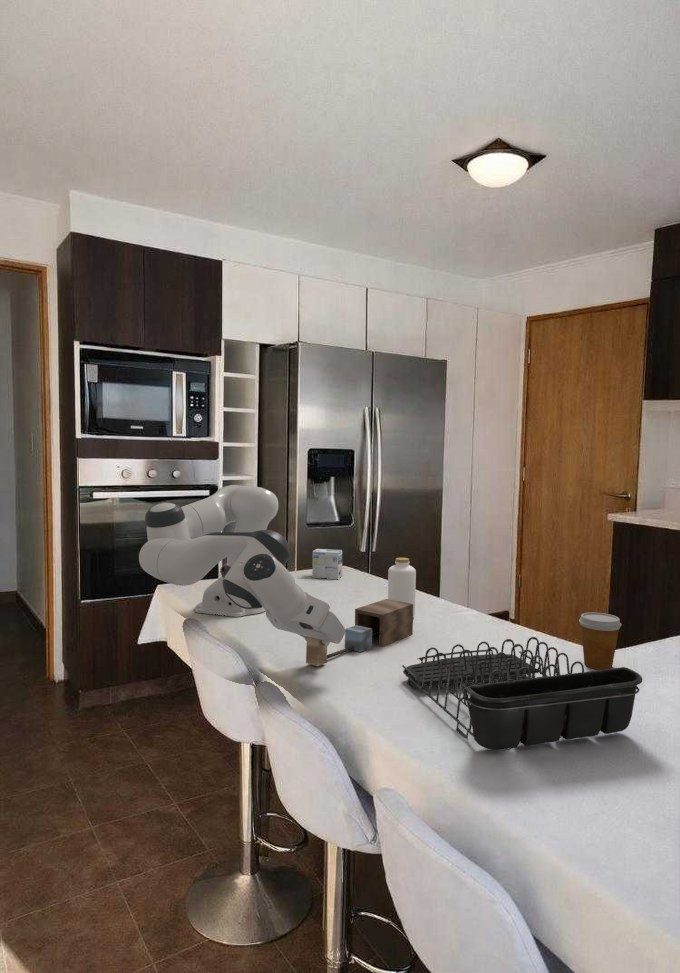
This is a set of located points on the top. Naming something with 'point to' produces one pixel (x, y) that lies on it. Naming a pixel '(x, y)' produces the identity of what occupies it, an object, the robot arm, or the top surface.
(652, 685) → the top surface
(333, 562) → the light bulb box
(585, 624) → the disposable coffee cup
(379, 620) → the cubby
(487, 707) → the dish rack
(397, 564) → the potion bottle
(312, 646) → the tethered block
